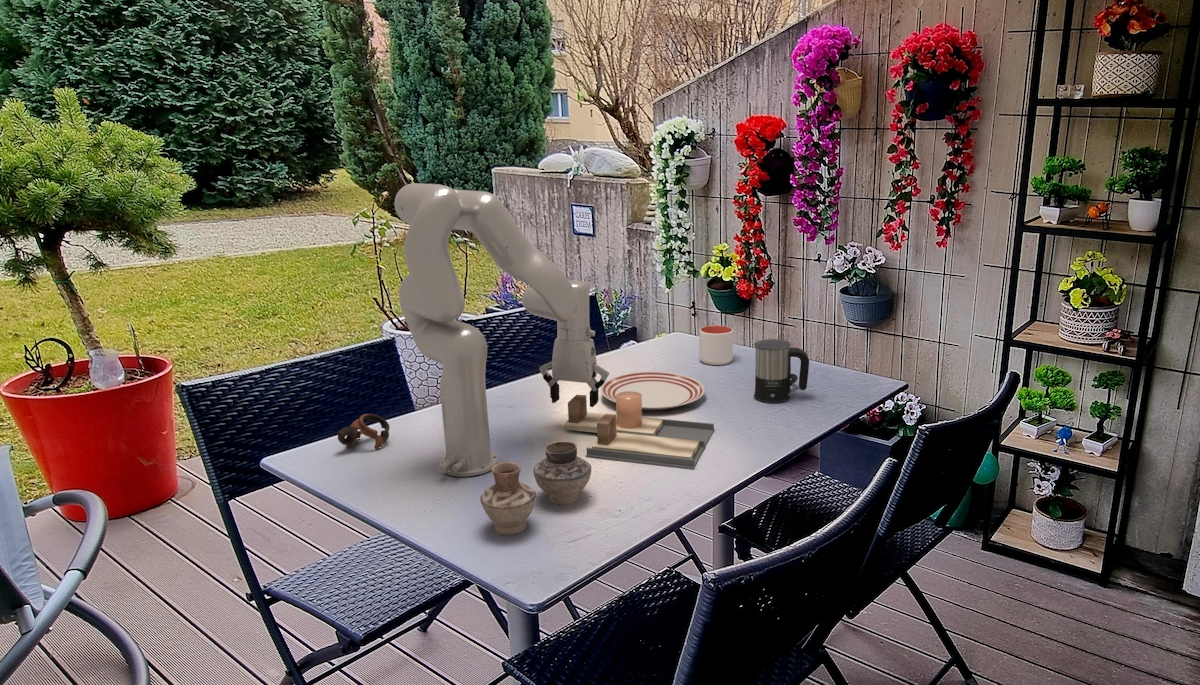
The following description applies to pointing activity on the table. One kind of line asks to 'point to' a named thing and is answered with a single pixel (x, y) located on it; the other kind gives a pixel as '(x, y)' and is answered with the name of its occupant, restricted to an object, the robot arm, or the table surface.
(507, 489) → the pottery
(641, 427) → the strip
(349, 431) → the brown curved loop
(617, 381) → the dinner plate
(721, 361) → the cup
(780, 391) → the milk frother
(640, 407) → the canister
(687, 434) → the lane frame
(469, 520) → the table surface
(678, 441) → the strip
